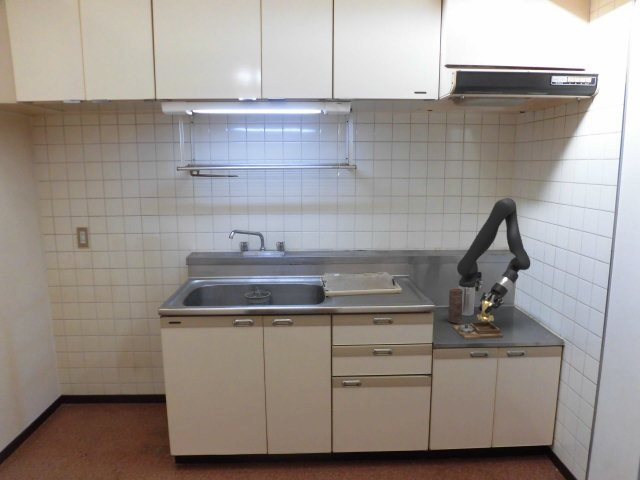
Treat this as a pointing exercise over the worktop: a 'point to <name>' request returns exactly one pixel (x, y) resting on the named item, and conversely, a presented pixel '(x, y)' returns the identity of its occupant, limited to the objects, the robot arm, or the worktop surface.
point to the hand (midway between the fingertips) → (482, 311)
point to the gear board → (478, 330)
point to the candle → (455, 305)
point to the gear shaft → (483, 315)
